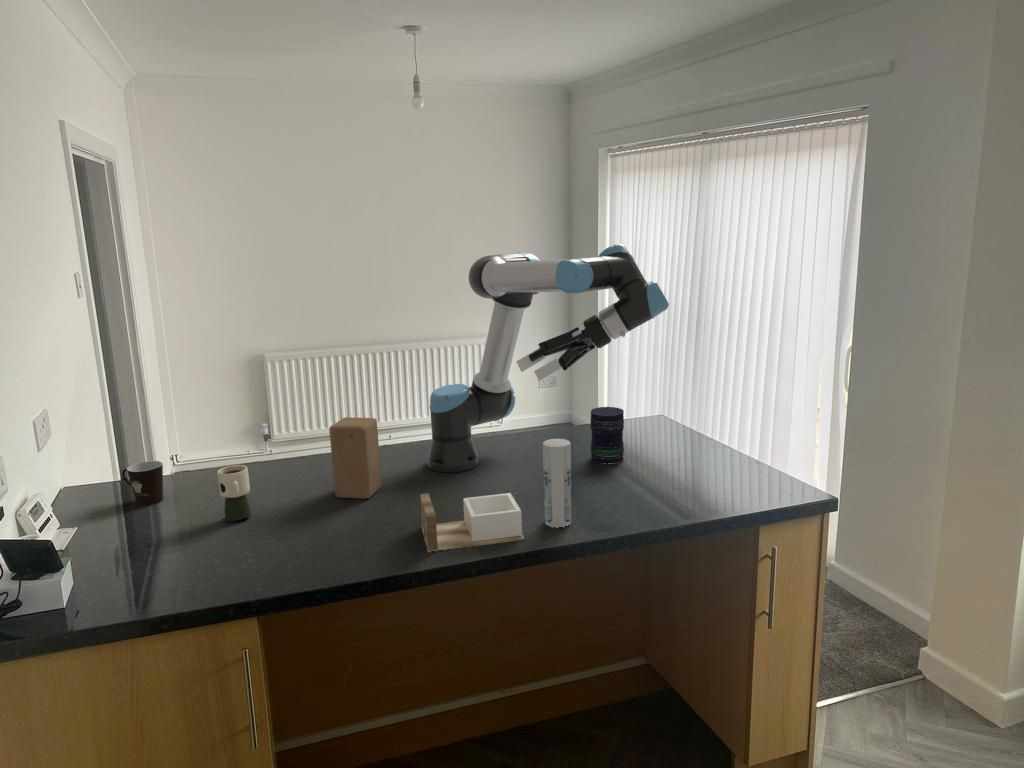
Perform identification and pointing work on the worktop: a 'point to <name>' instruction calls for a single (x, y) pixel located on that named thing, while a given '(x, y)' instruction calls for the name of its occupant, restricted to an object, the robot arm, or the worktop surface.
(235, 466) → the character mug
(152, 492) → the coffee mug
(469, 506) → the sleeve
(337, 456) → the wooden block
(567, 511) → the spray can
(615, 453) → the storage jar
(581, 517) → the worktop surface
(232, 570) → the worktop surface
